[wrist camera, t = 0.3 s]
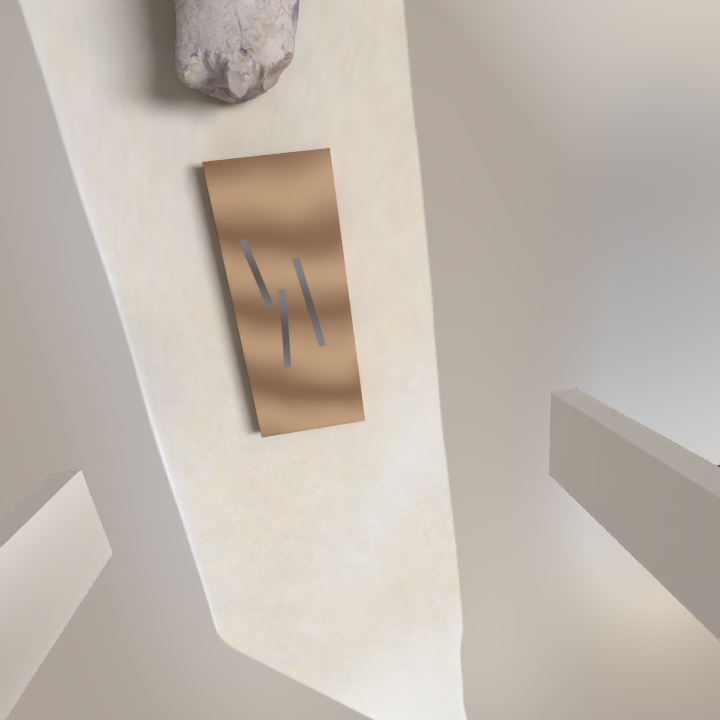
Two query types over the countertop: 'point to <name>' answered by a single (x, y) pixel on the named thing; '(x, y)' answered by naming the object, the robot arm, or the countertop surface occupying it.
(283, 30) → the stone
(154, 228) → the countertop surface
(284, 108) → the countertop surface
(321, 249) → the board
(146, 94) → the countertop surface
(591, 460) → the robot arm
